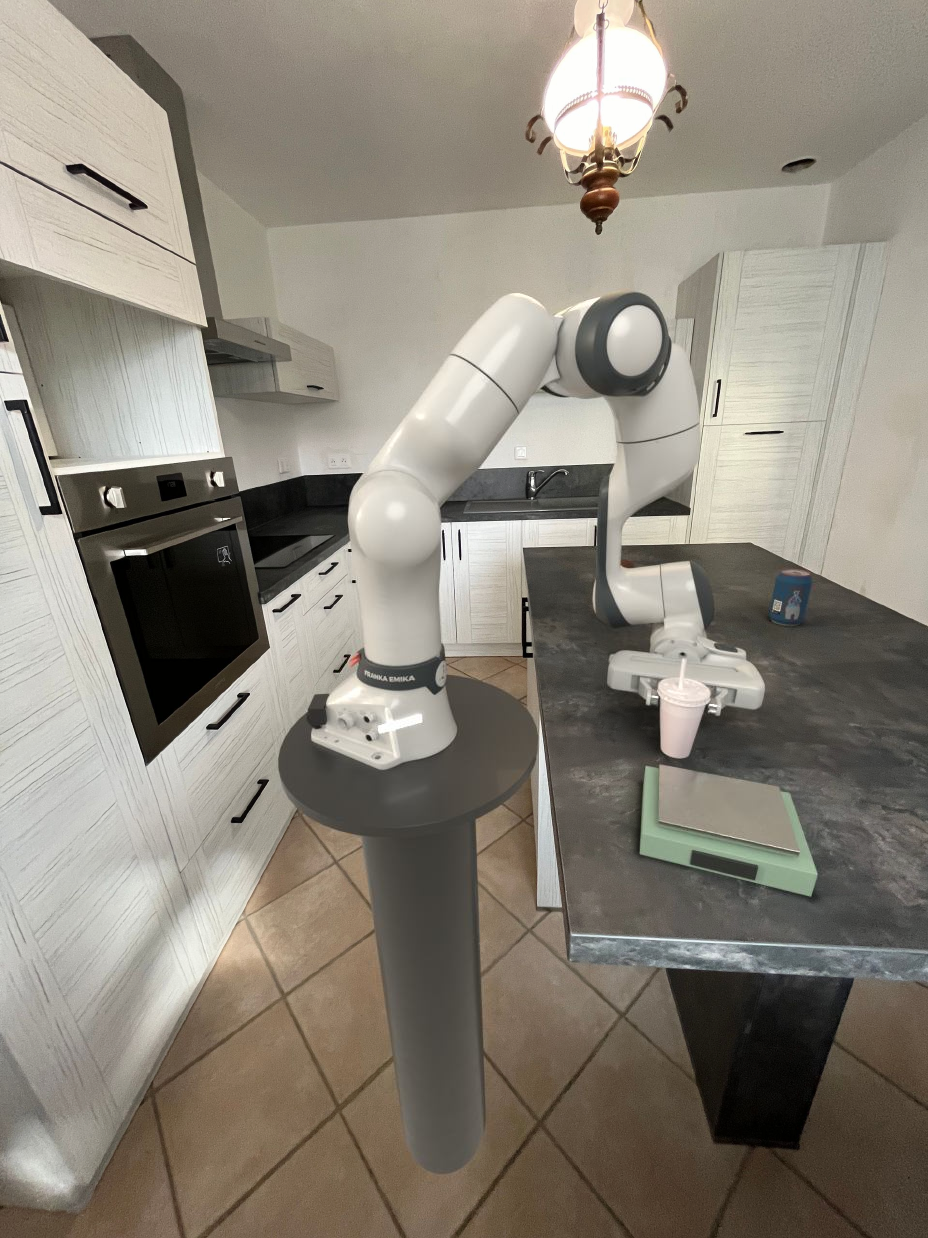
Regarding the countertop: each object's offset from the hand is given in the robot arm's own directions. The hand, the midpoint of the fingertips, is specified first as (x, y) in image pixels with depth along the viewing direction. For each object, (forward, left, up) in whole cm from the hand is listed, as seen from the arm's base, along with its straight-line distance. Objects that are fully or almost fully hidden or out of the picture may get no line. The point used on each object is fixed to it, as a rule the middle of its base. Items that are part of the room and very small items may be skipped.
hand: (683, 706), depth 63 cm
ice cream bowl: (-13, +55, -10) cm, 57 cm away
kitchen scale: (+4, -11, -10) cm, 15 cm away
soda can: (+25, +64, -10) cm, 69 cm away
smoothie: (0, +1, -8) cm, 8 cm away
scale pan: (+4, -11, -6) cm, 13 cm away
